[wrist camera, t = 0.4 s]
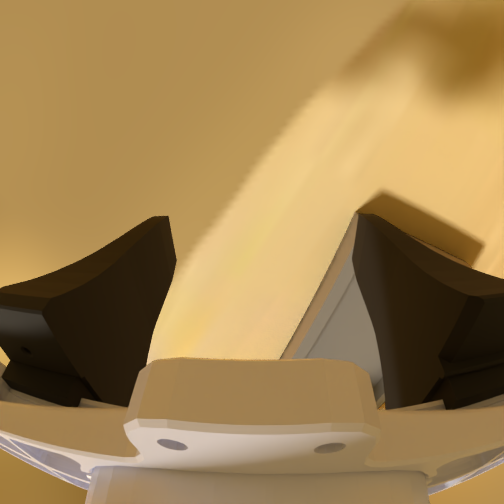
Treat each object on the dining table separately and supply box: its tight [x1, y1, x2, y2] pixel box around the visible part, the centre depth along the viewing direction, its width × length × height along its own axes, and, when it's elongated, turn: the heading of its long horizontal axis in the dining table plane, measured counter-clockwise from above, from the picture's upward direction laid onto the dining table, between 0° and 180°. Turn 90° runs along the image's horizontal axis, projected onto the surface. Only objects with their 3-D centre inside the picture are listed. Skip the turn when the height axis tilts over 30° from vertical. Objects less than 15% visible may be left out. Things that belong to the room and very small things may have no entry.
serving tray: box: [279, 212, 472, 409], centre depth 25 cm, size 18×12×2 cm, turn 161°
